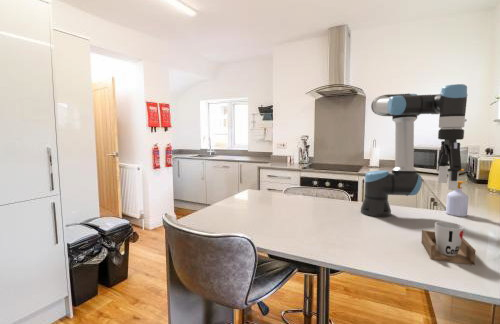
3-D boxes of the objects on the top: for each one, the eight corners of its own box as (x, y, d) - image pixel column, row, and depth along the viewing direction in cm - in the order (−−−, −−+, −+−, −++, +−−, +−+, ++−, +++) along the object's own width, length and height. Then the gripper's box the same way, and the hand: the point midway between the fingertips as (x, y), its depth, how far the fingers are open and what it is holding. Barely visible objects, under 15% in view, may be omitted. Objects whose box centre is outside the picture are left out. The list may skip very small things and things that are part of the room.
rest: (430, 259, 92) (431, 244, 91) (421, 242, 107) (422, 230, 106) (474, 265, 87) (475, 250, 87) (458, 246, 102) (459, 233, 102)
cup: (445, 258, 90) (447, 229, 89) (427, 248, 98) (429, 221, 97) (468, 257, 91) (470, 228, 90) (448, 247, 99) (450, 221, 98)
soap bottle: (471, 217, 139) (474, 170, 137) (451, 216, 141) (453, 169, 139) (461, 212, 148) (464, 168, 146) (442, 211, 150) (445, 167, 148)
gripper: (476, 128, 85) (471, 194, 88) (453, 128, 108) (449, 180, 110) (448, 128, 88) (443, 192, 91) (431, 128, 111) (428, 179, 113)
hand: (447, 186), depth 100 cm, fingers open, 13 cm apart
